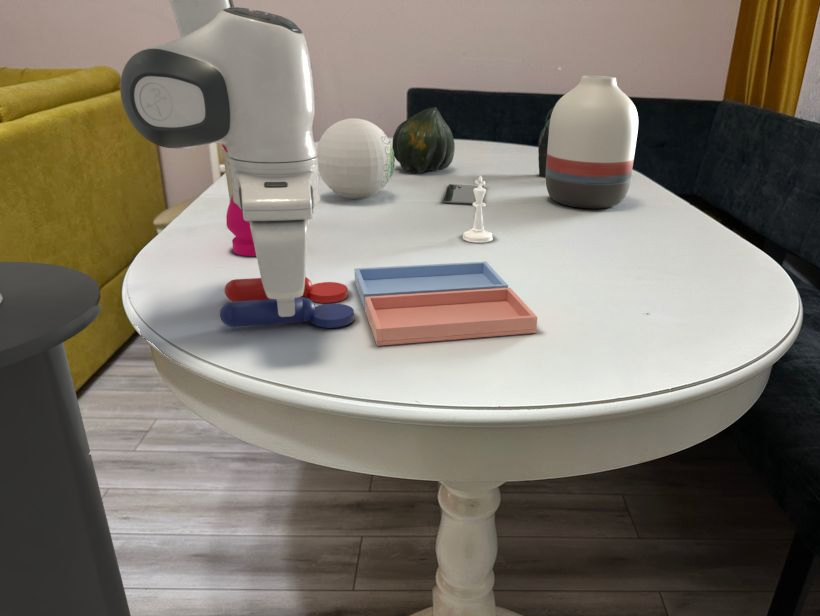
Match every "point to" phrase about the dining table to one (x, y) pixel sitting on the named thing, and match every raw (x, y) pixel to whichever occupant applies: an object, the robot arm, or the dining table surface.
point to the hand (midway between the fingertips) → (286, 307)
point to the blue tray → (426, 279)
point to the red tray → (448, 316)
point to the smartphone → (460, 194)
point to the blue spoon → (268, 314)
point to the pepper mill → (239, 229)
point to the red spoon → (315, 292)
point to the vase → (591, 145)
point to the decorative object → (355, 158)
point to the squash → (424, 142)
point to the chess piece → (478, 218)
